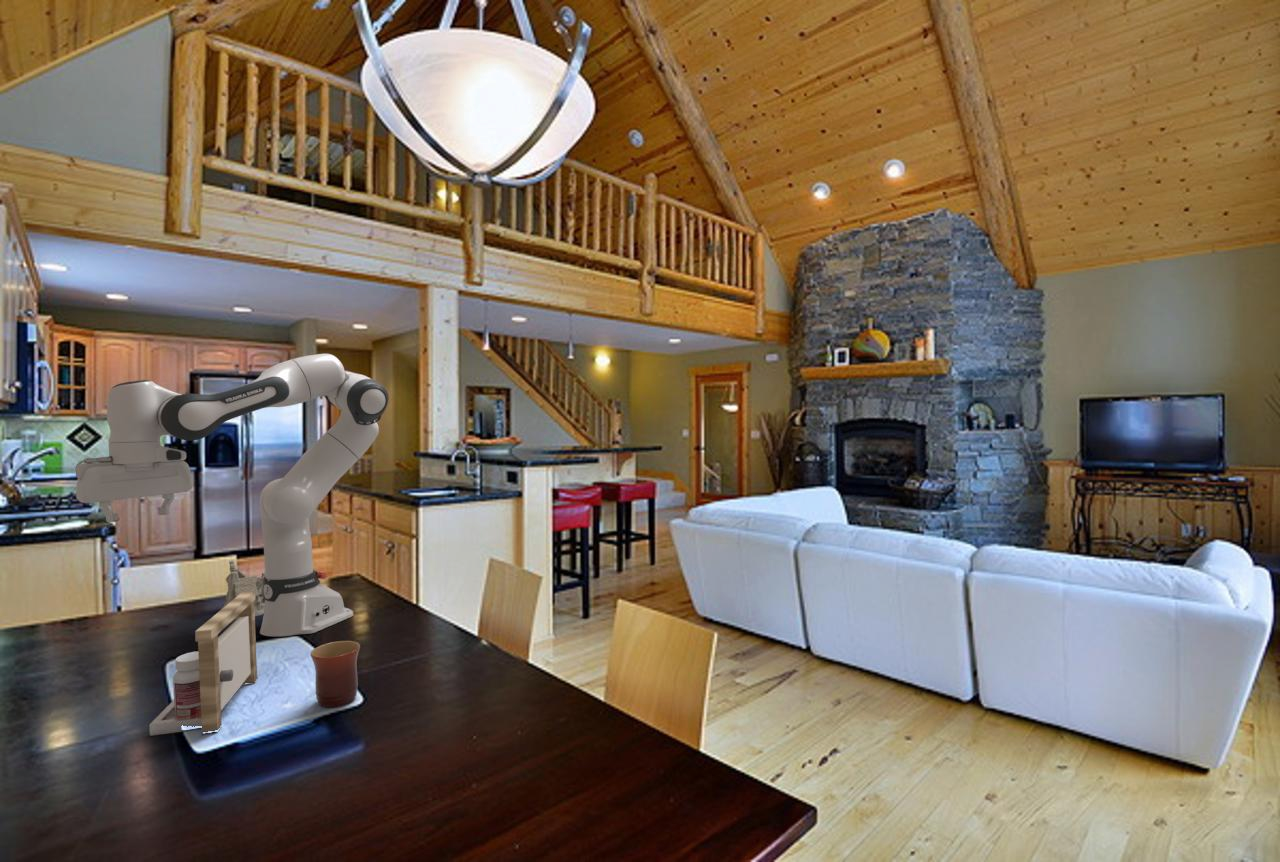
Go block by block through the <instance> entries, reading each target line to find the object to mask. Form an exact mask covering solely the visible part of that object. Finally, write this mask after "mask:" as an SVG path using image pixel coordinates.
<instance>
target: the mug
mask: <svg viewBox="0 0 1280 862" xmlns="http://www.w3.org/2000/svg"><path fill="white" fill-rule="evenodd" d="M360 649H361V644H360V642H358V641H353V640H339V641H331V642H329V643H325V644H321V645H319V646H317V647H315V648H314V649H312V650H311V652H310V657H311V660H312V662H313V665H314V669H315V692H314V693H315V696H316V697H315V698H316V700H317V703H318V705H319V706H322V707H324V708H335V707H336V708H337V707H340V706H345V705H347V704H349V703H351V702H352V701H353V700H354V699H355V698H356V696H357V695H358V694H357V693H358V687H359V684H358V683H359V681H358V667H357V662H358V661H357V660H358V656H359V652H360Z"/></svg>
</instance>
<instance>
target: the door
mask: <svg viewBox="0 0 1280 862" xmlns="http://www.w3.org/2000/svg"><path fill="white" fill-rule="evenodd" d="M218 652H219V676H220V699H221V710H222V709H223V708H224V709H225V707H226V706H227V705H228V704H227V703H229V701H230V700H231V698H232V697H233V696H234V695H235V694H236V692H238V690H239V689H240V687H241V686H243V685H242V684H243V682H244V681H245V680H246V679H247V677H248V676H249V675H250V674H251V667H250V642H249V617H248V616H246V617H239V618H238V619H237V620H234V621H233V623H232V624H231V625H229V626H228V627H227V628H226V629H225V630H224V631H223V632H222V633H221V634H220V635H218ZM226 704H227V705H226ZM225 705H226V706H225ZM224 706H225V707H224ZM224 709H223V710H224ZM223 710H222V711H223Z"/></svg>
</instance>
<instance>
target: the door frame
mask: <svg viewBox="0 0 1280 862" xmlns="http://www.w3.org/2000/svg"><path fill="white" fill-rule="evenodd" d="M255 599H256V598H255V591H247V592H242V593H240V594H239V595H238V596H237V597H236V598H235V599H233V600H232V601H231V602H230V603H229V604H227V605H226V606H225V607H224V608H223V609H222V608H220V610H219V611H218V612H217V613H216V614H214V615H213V616H212V617H211V618H209V619H208V620H207V621H206V622H205V623H204V624H202V625H201V626H200V627H199V628H197V629H196V630H195V631H194V632H195V633H194V635H195V636H194V637H195V639H194V640H195V642H197V647H198V648H197V650H198V653H199V676H200V699H201V722H202V729H201V733H202V732H208V731H215V730H218V729H219V728H220V726H221V725H223V724H222V711H221V699H220V676H219V652H218V637H219V634H220V633H221V632H222V631H223V630H224V629H225V628H226V627H227V626H228V625H229V624H230V623H232V622H234V621H235V620H234V619H235V618H236V617H237V616H238V617H246V616H248V617H249V642H250V667H251V674H250V675H249V676H248V677H247V679H246V680H245V681H244V682H243V684H245V683H254V682H255V681H256V679H257V680H258V664H257V643H256V642H257V640H256V637H257V636H256V616H255V611H254V600H255ZM256 682H257V681H256ZM256 682H255V683H256ZM255 683H254V684H255Z"/></svg>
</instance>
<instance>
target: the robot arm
mask: <svg viewBox="0 0 1280 862" xmlns="http://www.w3.org/2000/svg"><path fill="white" fill-rule="evenodd" d="M260 373H261V374H260V375H259V376H258V377H257V378H256V379H254V380H253V381H251V382H248V383H247V384H243V385H240V386H237V387H233V388H229V389H227V390H224V391H220V392H218V393H217V392H216V393H211V394H201V393H183V394H182V393H179V392H175V391H173V390H170V389H167V388H165V387H163V386H162V385H161V386H160V385H159V384H156V383H155V382H154V381H153V380H149V379H142V380H141V379H140V380H131V381H124V382H121V383H117V384H115V385H114V386H112V388H110V389H109V391H108V395H107V401H106V404H107V405H106V413H107V414H106V419H107V425H108V426H109V430H110V431H109V432H110V433H109V437H108V441H107V442H108V456H100V457H85V458H84V459H82V460H80V461H78V462H77V464H76V465H75V476H76V478H77V480H76V490H75V496H76V500H77V501H78V502H80V503H82V504H83V503H84V504H94V503H98V507H99V509H101V511H102V512H103V513H104V514H105V521H106V522H107V523H114V522H118V521H119V512H113V511H112V510H111V508H110V507H111V506H112V501H120V500H128V499H135V498H136V499H138V498H145V497H154V496H162V499H163V500H164V501H163V503H162V504H161V506H157V508H156V509H157V515H158V516H166V515H169V514H170V512H169V511H170V509H169V507H170V506H171V504H172V503H173V501H174V499H175V494H180V493H181V494H182V493H188V492H189V491H190V490H191V489H192V485H193V479H192V473H191V467H190V466H189V464H188V463H187V462H186V461H185V460H186V459H187V452H186V451H184V450H181V449H176V448H171V447H169V446H162V445H161V437H162V436H171V437H173V438H177V439H179V440H182V441H198V440H201V439H205V438H206V437H208V436H210V435H211V434H212V433H213V432H214V431H216V430H217V429H218V428H219V427H220V426H222V425H223V424H224V423H226V422H228V421H229V420H233V419H235V418H238V417H242V416H245V415H246V414H249V413H252V412H255V411H259V410H261V409H267V408H282V407H289V406H294V405H295V406H296V405H298V404H299V405H300V404H303V403H306V402H308V401H312V400H315V399H317V398H319V397H324V398H325V399H326V401H327V402H328V403H329V404H330V405H331V406H333V407H334V408H337V409H339V410H340V415H339V417H338V419H337V421H336V423H335V424H333V426H331V427H330V428H329V429H328V430H327V431H326V432H324V434H322V436H321V437H319V439H317V441H316V442H315V443H313V444H312V445H311V446H310V447H309V448H308V449H307V450H306V451H305V452H304V453H303V454H302V455H301V457H300V458H299V459H298V461H297V462H295V464H294V466H292V467H291V469H289V471H288V472H287V473H286V474H285V475H284V476H283V477H280V478H277V479H274V480H272V481H269V482H268V483H267V484H266V485H265V486H264V487H263V488H262V490H261V492H260V495H259V509H260V519H261V520H260V521H261V532H262V544H263V556H264V557H263V560H264V561H263V562H264V572H265V577H264V578H263V590H264V599H265V608H264V614H263V616H262V620H261V621H262V623H261V627H260V630H259V634H260V635H262V636H266V637H287V636H295V635H306V634H307V635H308V634H309V635H311V634H314V633H317V632H318V631H321V630H324V629H326V628H328V627H330V626H333V625H336V624H337V623H340V622H342V621H344V620H347V619H349V618H352V617H353V616H354V611H353V610H352V609H350V608H347V607H345V605H344V604H345V603H344V600H343V597H342V595H341V594H340V593H339V592H338V591H335V590H333V589H332V588H330V587H328V586H326V585H324V584H322V583H321V582H320V579H322V580H326V579H327V578H328V575H329V574H328V572H327V571H325V570H324V571H323V570H320V571H317V570H314V564H313V562H314V561H313V541H312V536H311V530H310V529H311V528H310V521H309V517H310V516H311V515H312V514H313V512H314V511H315V510H316V509H317V507H318V506H319V505H320V504H321V503H322V501H324V499H325V498H326V496H327V495H328V494H329V492H330V491H331V490H332V489H333V487H334V486H335V484H336V483H337V482H338V481H340V479H341V478H342V477H343V476H344V475H345V474H346V473H347V472H348V471H349V470H350V469H351V468H352V467H353V466H354V465H355V463H357V462H358V461H359V460H360V458H362V457H363V455H364V454H366V452H367V451H368V450H369V448H371V446H372V444H373V443H374V441H376V438H377V437H378V435H379V432H380V428H379V425H378V423H377V422H379V421H380V420H381V418H382V415H383V414H384V413H385V411H386V409H387V408H388V404H389V394H388V391H387V390H386V388H385V387H384V385H382V383H380V382H379V381H377V380H375V379H372V378H371V377H368V376H366V375H364V374H360V373H356V372H353V371H349V370H346V369H345V367H344V365H343V363H342V362H341V360H339V358H337V356H335V355H333V354H331V353H318V354H311V355H304V356H299V357H296V358H291V359H289V360H288V359H287V360H285V361H282V362H280V363H277V364H275V365H272V366H270V367H268V368H267V369H264V370H263V371H262V372H260Z"/></svg>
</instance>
